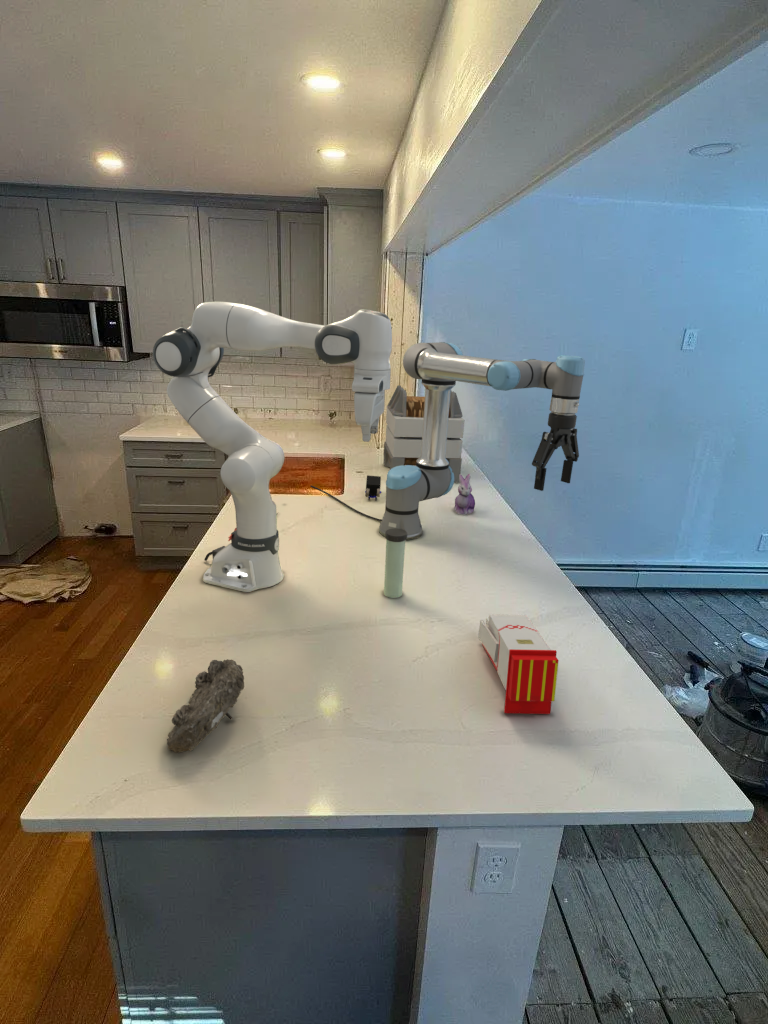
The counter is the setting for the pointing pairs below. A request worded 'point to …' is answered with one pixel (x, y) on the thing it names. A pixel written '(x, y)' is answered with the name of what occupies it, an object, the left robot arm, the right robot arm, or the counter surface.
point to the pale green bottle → (394, 568)
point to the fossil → (206, 705)
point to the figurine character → (373, 487)
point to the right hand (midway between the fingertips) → (552, 485)
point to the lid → (396, 535)
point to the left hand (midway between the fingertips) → (370, 437)
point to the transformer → (419, 431)
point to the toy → (521, 662)
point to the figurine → (464, 497)
